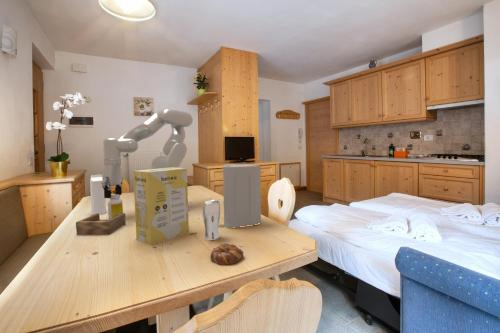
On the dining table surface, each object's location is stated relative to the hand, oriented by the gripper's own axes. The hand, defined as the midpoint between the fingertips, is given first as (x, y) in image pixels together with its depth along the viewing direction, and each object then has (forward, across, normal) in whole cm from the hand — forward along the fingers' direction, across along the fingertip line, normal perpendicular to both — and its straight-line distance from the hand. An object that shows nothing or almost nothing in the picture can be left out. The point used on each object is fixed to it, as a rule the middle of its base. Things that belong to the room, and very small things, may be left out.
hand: (113, 196), depth 130 cm
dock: (+13, +14, +3) cm, 19 cm away
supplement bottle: (+12, -1, +1) cm, 13 cm away
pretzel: (+13, +43, +63) cm, 77 cm away
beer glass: (+12, +25, +55) cm, 61 cm away
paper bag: (+11, +7, +63) cm, 65 cm away
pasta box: (+12, +22, +34) cm, 42 cm away
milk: (+12, -14, -16) cm, 25 cm away
